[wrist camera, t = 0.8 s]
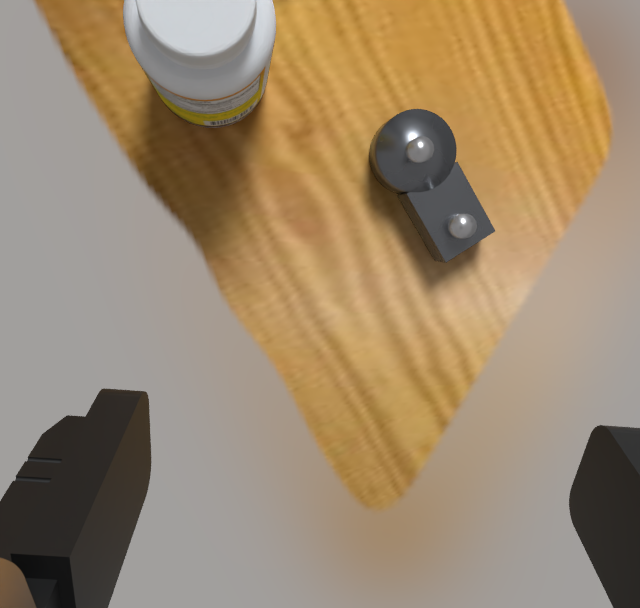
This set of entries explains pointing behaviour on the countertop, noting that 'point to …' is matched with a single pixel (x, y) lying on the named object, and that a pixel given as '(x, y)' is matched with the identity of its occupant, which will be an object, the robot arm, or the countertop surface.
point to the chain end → (429, 182)
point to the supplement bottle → (204, 54)
